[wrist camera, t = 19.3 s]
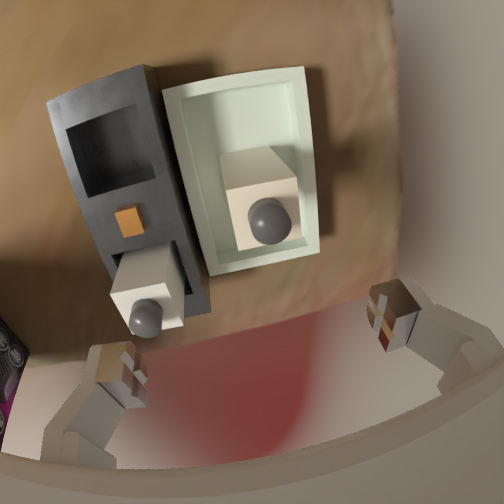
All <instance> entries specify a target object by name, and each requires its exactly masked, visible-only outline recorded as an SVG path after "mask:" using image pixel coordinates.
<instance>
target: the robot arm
mask: <svg viewBox="0 0 504 504" xmlns="http://www.w3.org/2000/svg"><path fill="white" fill-rule="evenodd" d="M369 295H370V297H371V300H370V301H369V303H368V305H367V316H368V320H369V322H370V325H371V327H372V328H373V329H374V330H376V331H378V332H379V336H378V339H379V341H380V343H381V345H382V346H383V348H384V350H385V352H389V351H392V350H395V349H398V348H401V347H403V346H406V345H407V347H408V348H409V349H411V350H412V351H414V352H415V353H417V354H418V355H420V356H421V357H423V358H424V359H426V360H427V361H428V362H430V363H432V364H433V365H434V366H436V367H437V368H439V369H440V370H442V371H443V372H444V374H443V376H442V377H441V379H440V380H439V382H438V385H437V387H438V388H439V390H440V392H441V394H442V395H440V396H439V397H436V398H434V399H433V400H431V401H429V402H426V403H424V404H423V405H420V406H418V407H416V408H414V409H412V410H410V411H407V412H405V413H403V414H401V415H398V416H396V417H394V418H391V419H389V420H386V421H384V422H381V423H379V424H376V425H374V426H371V427H369V428H366V429H363V430H360V431H358V432H355V433H352V434H349V435H346V436H343V437H340V438H337V439H334V440H330V441H327V442H324V443H320V444H317V445H313V446H310V447H306V448H302V449H298V450H294V451H290V452H286V453H281V454H277V455H273V456H268V457H263V458H257V459H252V460H246V461H241V462H234V463H226V464H219V465H210V466H201V467H190V468H176V469H147V470H146V469H144V470H143V469H138V470H135V469H116V458H115V457H114V456H113V455H111V454H110V453H108V452H106V451H105V450H104V448H105V447H106V445H107V443H108V441H109V439H110V438H111V436H112V434H113V432H114V430H115V429H116V427H117V425H118V423H119V421H120V420H121V418H122V416H123V414H124V412H125V409H130V408H139V407H147V390H146V388H145V387H144V386H143V385H144V384H145V382H146V381H147V380H148V371H147V365H146V362H145V360H144V358H143V356H142V355H141V354H139V353H137V352H135V350H136V346H135V345H134V344H133V342H132V341H123V342H115V343H106V344H99V345H92V346H91V348H90V349H89V353H88V358H87V362H86V368H85V372H84V377H83V383H82V384H79V385H78V386H77V388H76V389H75V390H74V391H73V393H72V394H71V395H70V396H69V398H68V399H67V400H66V402H65V403H64V404H63V405H62V407H61V408H60V409H59V411H58V412H57V413H56V414H55V416H54V417H53V418H52V420H51V421H50V422H49V424H48V425H47V426H46V427H45V429H44V436H43V442H42V451H41V457H40V461H39V460H34V459H29V458H24V457H19V456H15V455H11V454H7V453H3V452H0V504H504V348H503V347H502V345H501V344H500V342H499V341H498V340H497V338H496V337H495V335H494V334H493V333H492V331H491V330H490V329H489V328H488V327H485V326H483V325H481V324H479V323H477V322H475V321H473V320H471V319H469V318H467V317H464V316H463V315H460V314H458V313H456V312H454V311H452V310H450V309H448V308H445V307H443V306H441V305H439V304H436V305H434V304H433V302H432V301H431V300H430V298H429V297H428V296H427V295H426V293H425V292H424V291H423V289H422V288H421V287H420V286H419V285H418V283H417V282H416V281H415V279H414V278H413V277H412V276H410V275H406V276H403V277H400V278H397V279H393V280H390V281H387V282H383V283H380V284H377V285H374V286H372V287H371V288H370V292H369Z"/></svg>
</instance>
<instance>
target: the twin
mask: <svg viewBox="0 0 504 504" xmlns="http://www.w3.org/2000/svg"><path fill="white" fill-rule="evenodd" d="M218 156H219V161H220V166H221V171H222V176H223V181H224V186H225V191H226V195H227V200H228V205H229V210H230V214H231V219H232V224H233V228H234V233H235V238H236V242H237V247H238V251H241V250H246V249H250V248H255V247H260V246H264V245H274V244H278V243H280V242H283V241H288V240H293V239H298V238H302V231H301V218H300V206H299V195H298V184H297V177H296V175H295V174H294V173H293V172H292V171H291V170H290V169H289V168H288V167H287V166H286V164H285V163H284V162H283V161H282V160H281V159H280V158H279V157H278V156H277V155H276V154H275V153H274V151H273V150H272V149H271V148H270V147H269V146H263V147H257V148H252V149H246V150H241V151H235V152H230V153H225V154H220V155H218Z"/></svg>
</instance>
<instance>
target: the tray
mask: <svg viewBox="0 0 504 504" xmlns="http://www.w3.org/2000/svg"><path fill="white" fill-rule="evenodd" d="M162 94H163V98H164V103H165V107H166V112H167V116H168V120H169V125H170V129H171V133H172V137H173V142H174V146H175V150H176V154H177V158H178V162H179V166H180V170H181V174H182V178H183V182H184V185H185V189H186V193H187V197H188V201H189V204H190V208H191V212H192V215H193V219H194V223H195V226H196V230H197V233H198V237H199V241H200V244H201V248H202V251H203V255H204V258H205V261H206V265H207V268H208V272H209V275H210V276H215V275H219V274H224V273H229V272H233V271H238V270H243V269H247V268H252V267H256V266H261V265H265V264H270V263H275V262H279V261H284V260H288V259H293V258H297V257H302V256H306V255H310V254H315V253H319V252H320V251H319V226H318V207H317V190H316V176H315V163H314V151H313V140H312V130H311V120H310V111H309V102H308V94H307V86H306V78H305V71H304V66H301V67H289V68H278V69H269V70H261V71H253V72H246V73H240V74H234V75H228V76H222V77H217V78H211V79H206V80H202V81H197V82H192V83H188V84H184V85H180V86H175V87H171V88H168V89H164V90H162ZM263 146H269V147H270V148H271V149H272V150H273V151H274V153H275V154H276V155H277V156H278V157H279V158H280V159H281V160H282V161H283V162H284V163H285V164H286V166H287V167H288V168H289V169H290V170H291V171H292V172H293V173H294V174H295V175H296V177H297V184H298V195H299V206H300V218H301V231H302V238H298V239H293V240H288V241H283V242H280V243H278V244H274V245H264V246H260V247H255V248H250V249H246V250H241V251H238V247H237V242H236V238H235V233H234V228H233V224H232V219H231V214H230V210H229V205H228V200H227V195H226V191H225V186H224V181H223V176H222V171H221V166H220V161H219V156H218V155H220V154H225V153H230V152H235V151H241V150H246V149H252V148H257V147H263Z"/></svg>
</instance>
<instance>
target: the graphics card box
mask: <svg viewBox="0 0 504 504" xmlns="http://www.w3.org/2000/svg"><path fill="white" fill-rule="evenodd" d="M29 354H30V353H29V352H28V351H27V350H26V348H25V347H24V346H23V345H22V344H21V343H20V342H19V341H18V340H17V339H16V337H15V336H14V335H13V334H12V332H11V331H10V330H9V329H8V328H7V327H6V326H5V324H4V323H3V322H2V321H1V319H0V452H1V447H2V442H3V438H4V434H5V430H6V426H7V422H8V418H9V414H10V411H11V407H12V404H13V400H14V397H15V394H16V391H17V388H18V385H19V382H20V379H21V376H22V373H23V370H24V367H25V365H26V362H27V359H28V356H29Z"/></svg>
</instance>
